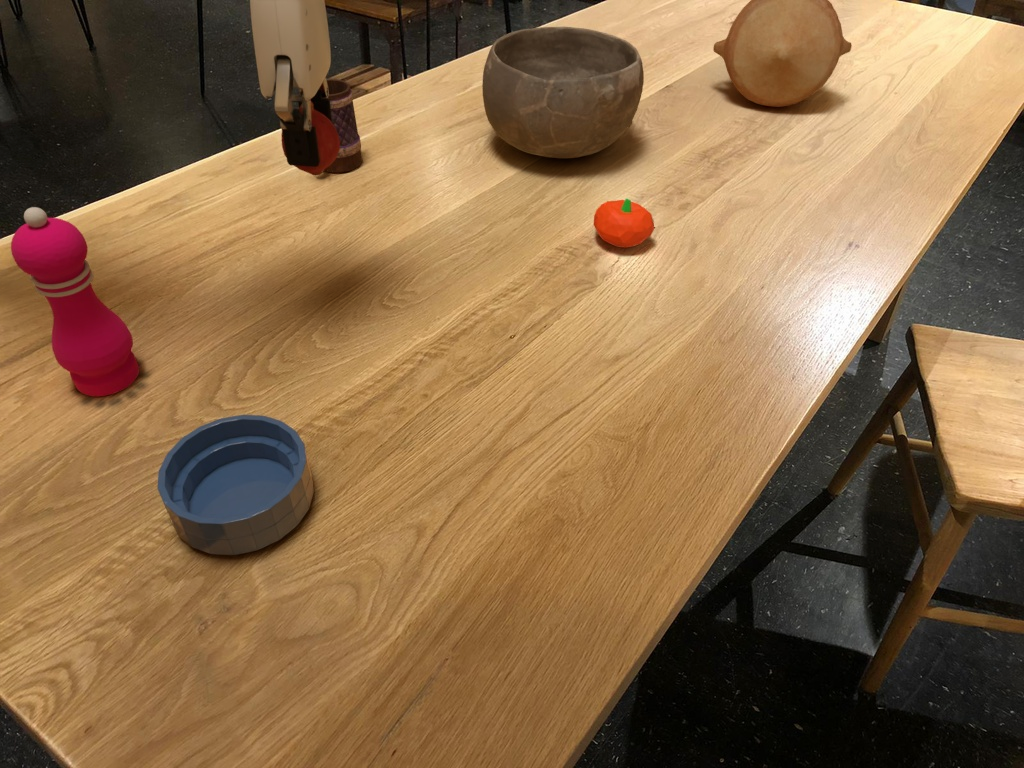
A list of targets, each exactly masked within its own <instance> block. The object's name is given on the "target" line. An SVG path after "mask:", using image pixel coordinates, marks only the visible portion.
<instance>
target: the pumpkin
mask: <svg viewBox="0 0 1024 768" xmlns="http://www.w3.org/2000/svg"><path fill="white" fill-rule="evenodd" d="M593 227H594V229H595V230H596V232H597V234H598V236H599V238H601V239H602V240H603V241H605V242H606V243H608V244H611V245H612V246H615V247H617V248H626V249H627V248H632V247H635V246H638V245H641V244H642V243H643V242H644V241H645V240H647V239H648V238H650V237H651V236H652V235H653V233H654V231H655V229H656V227H655V221H654V218H653V215H652V213H651V212H650V211H649V210H647V208H645V207H644V206H642V205H641V204H639V203H636V202H634V201H632V200H630V199H629V198H625V199H618V200H609V201H608V200H607V201H605V202H603V203H602V204H600V205H599V207H597V209H596V211H595V213H594V216H593Z"/></svg>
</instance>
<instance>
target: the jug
mask: <svg viewBox="0 0 1024 768" xmlns="http://www.w3.org/2000/svg"><path fill="white" fill-rule="evenodd" d="M842 28H843V27H842V23H841V21H840V19H839V15H838V12H837V11H836V9H835V8H834V6H833V4H832V2H831V1H829V0H749V2H748V3H746V4H745V5H744V7H742V9H741V10H740V12H739V13H738V14H737V15H736V17H735V19H734V21H733V22H732V24H731V26H730V28H729V30H728V34H727V36H726V37H725V38H724V39H722V40H719V41H715V43H714V44H713V49H712V50H713V52H714V53H715V54H717V55H718V56H720V57H721V58H722V60H723V61H724V65H725V68H726V71H727V74H728V76H729V79H730V80H731V82H732V84H733V86H734V87H735V89H736V91H738V93H740V94H741V95H742V96H743V97H744V98H745V99H746V100H748V101H750V102H752V103H755V104H757V105H761V106H765V107H766V106H767V107H774V108H775V107H776V108H781V107H787V106H793V105H796V104H799V103H800V102H802V101H804V100H807V99H808V98H809V97H812V96H813V95H814V94H815V93H817V92H818V91H819V90H820V89H821V88H822V87H824V85H826V83H827V82H828V80H829V79H830V78H831V76H832V75H833V73H834V71H835V69H836V67H837V65H838V63H839V60H840V58H841V57H842V56H844V55H845V54H848V53H850V52H851V50H852V47H853V46H852V42H850V41H848V40H846V38H844V37H845V36H844V35H843V29H842Z"/></svg>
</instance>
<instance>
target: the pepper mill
mask: <svg viewBox="0 0 1024 768" xmlns="http://www.w3.org/2000/svg"><path fill="white" fill-rule="evenodd" d="M23 219H24V222H25V223H24V224H22V225H21V226H20V227H19V228H18V229H17V230H16V231H15V232H14V234H13V236H12V239H11V242H10V249H11V250H10V251H11V256H12V258H13V261H14V263H15V264H16V266H17V267H18V268H19V269H20V270H22V271H23V273H25V274H27V275H29V276H30V281H31V283H32V284H33V286H34V289H35V291H36V292H37V293H38V294H39V295H41V296H44V297H45V298H46V300H47V302H48V304H49V306H50V308H51V309H50V310H51V311H52V318H53V320H52V321H53V323H52V330H51V348H52V352H53V356H54V358H55V360H56V362H57V363H58V365H59V366H60V367H61V368H63V369H64V370H66V371H67V372H69V376H70V379H71V380H72V382H73V384H74V386H75V388H76V389H77V390H78V391H79V392H80V393H81V394H83V395H86V396H89V397H90V396H91V397H106V396H111V395H114V394H116V393H119V392H122V391H123V390H125V389H127V388H129V386H131V385H132V384H133V383H134V382H135V381H136V380H137V378H138V376H139V374H140V365H139V363H138V361H137V358H136V356H135V354H134V352H133V351H132V349H133V345H134V340H133V335H132V333H131V331H130V329H129V327H128V326H127V324H126V323H125V321H124V320H123V319H121V317H120V316H119V315H118V314H116V313H115V312H114V311H113V310H111V309H110V308H109V307H108V306H107V305H106V304H104V302H103V301H102V300H101V299H100V298H99V296H97V294H96V292H95V290H94V288H93V285H92V281H93V279H94V273H93V272H94V271H92V269H91V265H90V263H89V262H88V261H87V260H86V259H87V256H88V243H87V241H86V239H85V236H84V235H83V233H82V232H81V231H80V230H79V229H78V227H76V226H75V225H74V224H73V223H71V222H69V221H66V220H65V219H61V218H58V217H48V214H47V213H46V211H45V210H43V209H42V208H40V207H37V206H31V207H29V208H26V210H25V211H24V213H23Z"/></svg>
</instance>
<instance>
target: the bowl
mask: <svg viewBox="0 0 1024 768" xmlns="http://www.w3.org/2000/svg"><path fill="white" fill-rule="evenodd" d="M644 75H645V74H644V66H643V60H642V57H641V55H640V53H639V51H638V49H637V48H636V47H635V45H633V44H632V43H630V42H629V41H628V40H626V39H624V38H622V37H619V36H616V35H613V34H611V33H607V32H602V31H599V30H595V29H590V28H584V27H582V28H581V27H573V26H542V27H540V26H539V27H532V28H525V29H520V30H519V29H518V30H515V31H511V32H509V33H506V34H504V35H502V36H501V37H499V38H497V39H496V40H494V42H493V43H492V46H491V47H490V49H489V52H488V54H487V58H486V60H485V62H484V67H483V71H482V83H481V85H482V87H481V88H482V101H483V108H484V111H485V115H486V118H487V120H488V123H489V125H490V126H491V128H492V130H493V131H494V132H495V133H496V135H497V136H498V137H499V138H501V139H502V140H503V141H504V142H505V143H506V144H508V145H510V146H512V147H514V148H516V149H518V150H519V151H522V152H523V153H527V154H529V155H533V156H539V157H545V158H551V159H553V158H555V159H574V158H580V157H586V156H591V155H593V154H596V153H599V152H600V151H603V150H605V149H607V148H608V147H610V146H611V145H612V144H614V143H615V142H616V141H617V140H618V139H619V138H620V137H621V136H622V135H623V134H624V133H625V132H626V131H627V130H628V128H630V127H631V126H632V125H633V121H634V120H633V119H635V115H636V113H637V111H638V109H639V104H640V102H641V100H642V99H641V98H642V95H643V89H644V88H643V87H644V84H645V83H644V82H645V81H644V80H645V77H644Z"/></svg>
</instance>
